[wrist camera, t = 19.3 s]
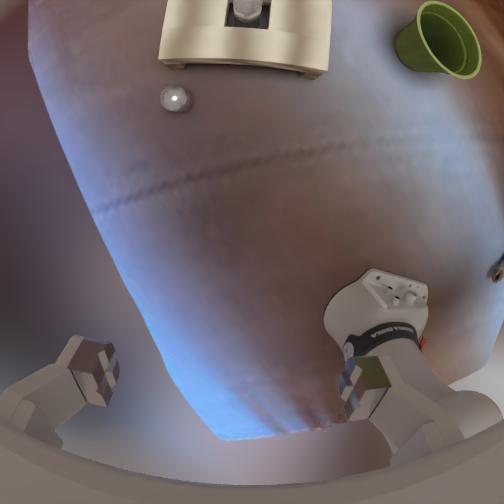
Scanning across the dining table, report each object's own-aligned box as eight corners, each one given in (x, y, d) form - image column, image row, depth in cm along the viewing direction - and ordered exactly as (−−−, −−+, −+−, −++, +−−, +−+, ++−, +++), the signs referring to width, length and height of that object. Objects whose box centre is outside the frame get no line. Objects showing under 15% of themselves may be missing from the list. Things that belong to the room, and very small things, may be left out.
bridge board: (319, 1, 28) (332, -17, 22) (314, 79, 34) (327, 71, 28) (184, -9, 27) (174, -29, 21) (172, 69, 33) (158, 59, 26)
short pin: (194, 91, 34) (186, 85, 29) (192, 112, 36) (184, 110, 30) (172, 91, 34) (160, 85, 29) (170, 112, 35) (158, 110, 30)
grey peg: (262, 25, 30) (269, -10, 19) (250, 41, 31) (253, 9, 20) (243, 16, 29) (243, -21, 19) (231, 31, 31) (226, -2, 20)
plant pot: (434, 30, 28) (473, 17, 18) (441, 90, 33) (485, 88, 23) (376, 12, 28) (410, -11, 18) (384, 77, 33) (424, 66, 23)
